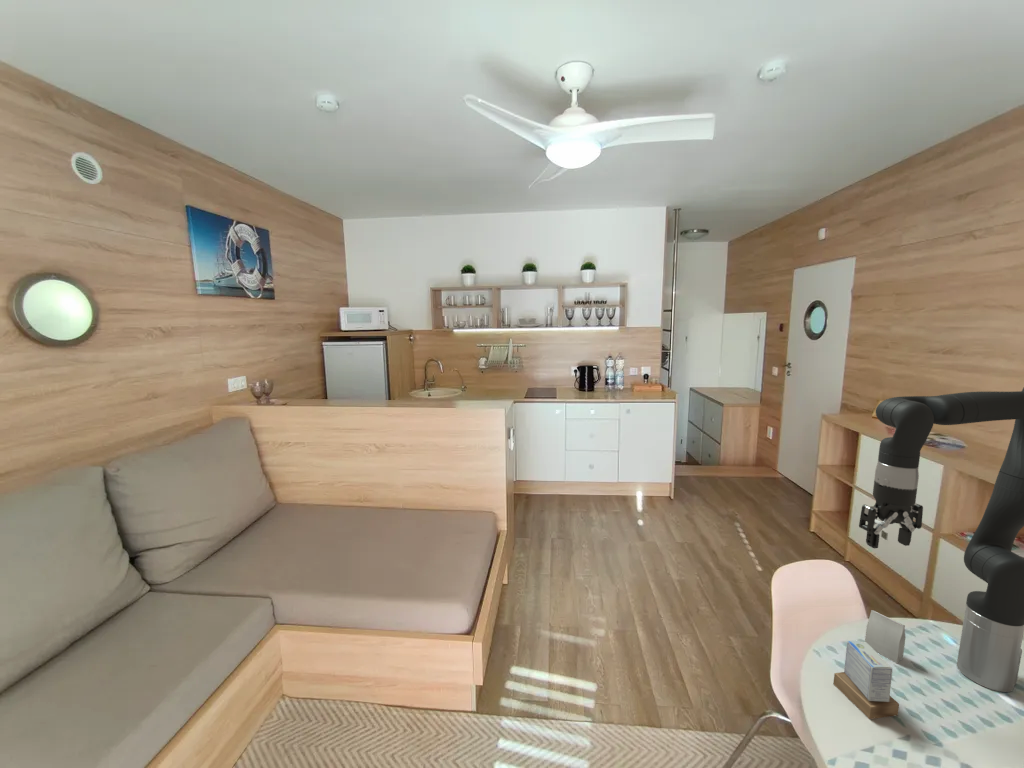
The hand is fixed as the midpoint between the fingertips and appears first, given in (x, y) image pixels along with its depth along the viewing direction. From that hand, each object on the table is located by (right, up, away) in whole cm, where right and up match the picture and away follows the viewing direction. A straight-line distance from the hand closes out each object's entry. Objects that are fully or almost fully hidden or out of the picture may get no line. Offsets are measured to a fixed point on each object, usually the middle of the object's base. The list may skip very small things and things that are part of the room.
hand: (887, 545), depth 99 cm
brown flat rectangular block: (-10, -34, -4) cm, 36 cm away
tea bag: (+7, -32, +9) cm, 34 cm away
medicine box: (-10, -31, -5) cm, 33 cm away
